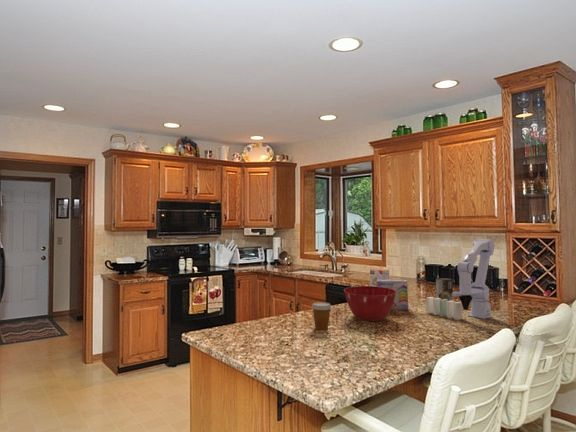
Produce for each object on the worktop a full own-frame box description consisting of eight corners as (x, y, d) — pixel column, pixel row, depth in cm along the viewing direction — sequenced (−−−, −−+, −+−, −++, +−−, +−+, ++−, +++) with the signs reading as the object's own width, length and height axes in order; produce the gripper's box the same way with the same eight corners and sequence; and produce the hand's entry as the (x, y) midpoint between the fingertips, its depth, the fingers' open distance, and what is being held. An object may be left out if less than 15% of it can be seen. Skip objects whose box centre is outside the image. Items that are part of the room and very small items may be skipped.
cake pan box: (375, 309, 243) (375, 279, 243) (375, 307, 248) (375, 278, 248) (408, 310, 238) (408, 281, 239) (407, 308, 243) (407, 279, 243)
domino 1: (434, 312, 233) (434, 297, 233) (428, 313, 230) (428, 297, 231) (431, 312, 235) (431, 296, 235) (426, 313, 232) (426, 297, 232)
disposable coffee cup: (315, 331, 193) (315, 306, 193) (309, 326, 202) (309, 302, 202) (334, 329, 195) (333, 305, 196) (327, 325, 205) (326, 301, 205)
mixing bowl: (398, 326, 203) (398, 295, 203) (342, 323, 208) (342, 293, 209) (395, 313, 230) (394, 286, 231) (345, 311, 236) (345, 285, 236)
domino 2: (440, 314, 229) (440, 298, 230) (435, 315, 227) (435, 299, 227) (438, 313, 231) (438, 297, 231) (432, 314, 228) (432, 298, 228)
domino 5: (462, 318, 218) (462, 302, 218) (456, 319, 215) (456, 303, 216) (459, 318, 219) (459, 301, 220) (454, 319, 217) (453, 302, 217)
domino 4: (454, 317, 222) (454, 300, 222) (449, 318, 219) (449, 301, 219) (452, 316, 223) (452, 300, 223) (446, 317, 220) (446, 301, 221)
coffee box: (450, 303, 261) (449, 278, 261) (453, 305, 254) (453, 279, 255) (435, 302, 262) (435, 278, 262) (438, 304, 255) (438, 279, 255)
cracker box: (369, 298, 278) (369, 268, 278) (376, 297, 280) (376, 267, 281) (382, 301, 265) (382, 270, 265) (389, 301, 268) (389, 269, 268)
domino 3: (447, 315, 226) (447, 299, 226) (442, 316, 223) (442, 300, 223) (445, 314, 227) (445, 299, 227) (439, 316, 224) (439, 300, 224)
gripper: (472, 282, 219) (473, 307, 219) (448, 283, 217) (448, 308, 216) (481, 284, 212) (481, 310, 212) (456, 285, 210) (456, 311, 209)
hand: (465, 309), depth 214 cm, fingers closed
